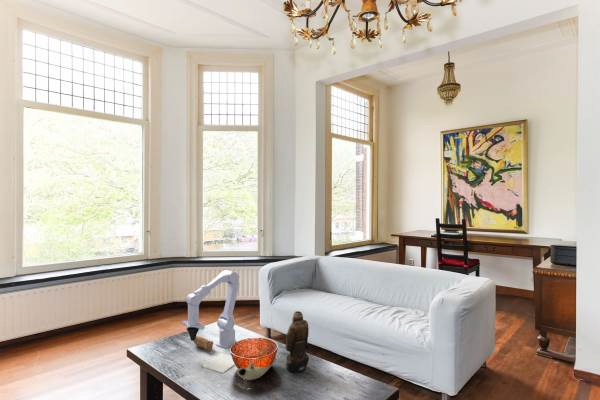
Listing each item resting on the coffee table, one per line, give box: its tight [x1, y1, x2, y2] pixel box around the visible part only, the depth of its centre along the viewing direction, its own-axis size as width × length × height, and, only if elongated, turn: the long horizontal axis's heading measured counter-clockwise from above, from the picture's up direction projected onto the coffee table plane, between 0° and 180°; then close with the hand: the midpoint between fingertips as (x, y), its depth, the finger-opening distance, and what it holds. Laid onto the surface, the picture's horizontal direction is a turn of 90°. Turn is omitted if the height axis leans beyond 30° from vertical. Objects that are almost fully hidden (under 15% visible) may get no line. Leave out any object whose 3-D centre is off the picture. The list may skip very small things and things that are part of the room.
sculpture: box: [285, 310, 310, 374], centre depth 180 cm, size 12×13×30 cm
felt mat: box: [201, 352, 236, 374], centre depth 184 cm, size 16×14×1 cm
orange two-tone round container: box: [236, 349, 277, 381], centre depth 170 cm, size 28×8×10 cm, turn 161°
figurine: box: [193, 335, 214, 352], centre depth 201 cm, size 8×8×15 cm
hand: (193, 339), depth 191 cm, fingers closed
